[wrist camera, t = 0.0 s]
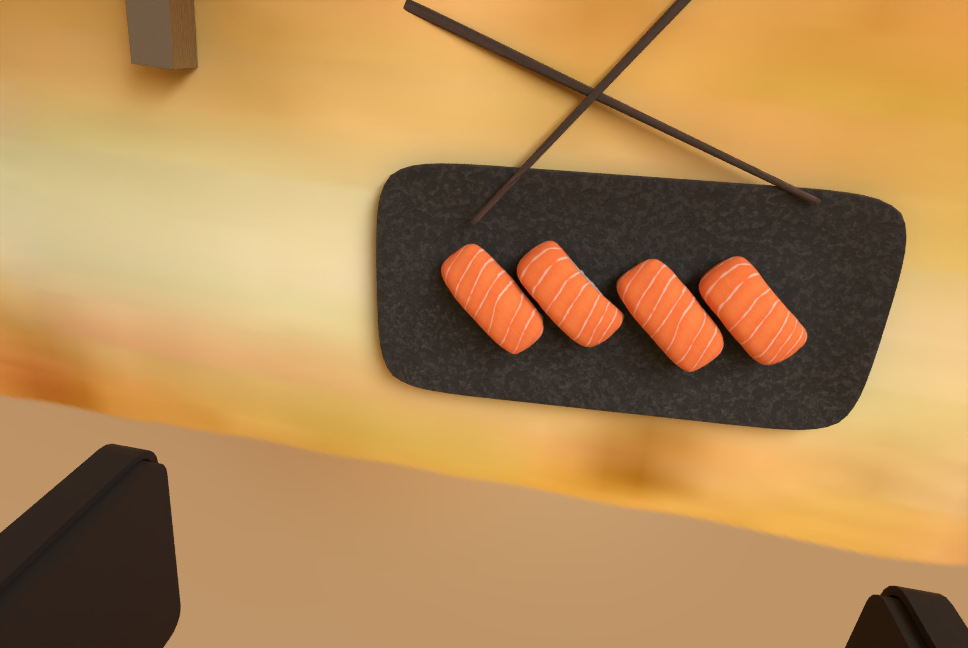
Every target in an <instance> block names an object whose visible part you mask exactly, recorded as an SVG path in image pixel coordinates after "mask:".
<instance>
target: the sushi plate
mask: <svg viewBox="0 0 968 648" xmlns="http://www.w3.org/2000/svg"><path fill="white" fill-rule="evenodd" d="M690 1H691V0H677V1H676V2H675V3H674V4H673V5H672V6H671V7H670V8H669V9H668V10H667V12H666V13H665V14H664V15H663V16H662V17H661V18H660V19H659V20H658V21H657V22H656V23H655V24H654V26H653V27H652V28H651V29H650V30H649V31H648V32H647V33H646V34H645V35H644V36H643V37H642V38H641V39H640V41H639V42H638V43H637V44H636V45H635V46H634V47H633V48H632V49H631V50H630V51H629V52H628V53H627V54H626V56H625V57H624V58H623V59H622V60H621V61H620V62H619V63H618V64H617V65H616V66H615V67H614V68H613V69H612V71H611V72H610V73H609V74H608V75H607V76H606V77H605V78H604V79H603V80H602V81H601V82H600V83H599V84H598V85H597V87H596V88H595V89H593V88H591V87H589V86H587V85H585V84H583V83H581V82H579V81H577V80H575V79H573V78H571V77H569V76H567V75H565V74H563V73H560V72H558V71H556V70H554V69H552V68H550V67H548V66H546V65H544V64H542V63H540V62H538V61H536V60H534V59H532V58H530V57H528V56H526V55H524V54H522V53H520V52H518V51H516V50H514V49H512V48H510V47H508V46H505V45H503V44H501V43H499V42H497V41H495V40H493V39H491V38H489V37H487V36H485V35H483V34H481V33H479V32H477V31H475V30H473V29H471V28H468V27H466V26H464V25H462V24H460V23H458V22H456V21H454V20H452V19H450V18H448V17H446V16H444V15H442V14H440V13H437V12H435V11H433V10H431V9H429V8H427V7H425V6H423V5H421V4H418V3H416V2H414V1H412V0H406V2H405V5H404V7H403V8H404V9H405V10H406V11H408V12H410V13H412V14H414V15H416V16H418V17H420V18H422V19H424V20H427V21H429V22H431V23H433V24H435V25H437V26H439V27H441V28H443V29H446V30H448V31H450V32H452V33H454V34H456V35H458V36H460V37H463V38H465V39H467V40H469V41H471V42H473V43H475V44H477V45H479V46H482V47H484V48H486V49H488V50H490V51H492V52H494V53H496V54H499V55H501V56H503V57H505V58H507V59H509V60H511V61H513V62H516V63H518V64H520V65H522V66H524V67H526V68H528V69H530V70H533V71H535V72H537V73H539V74H541V75H543V76H545V77H547V78H550V79H552V80H554V81H556V82H558V83H560V84H562V85H564V86H567V87H569V88H571V89H573V90H575V91H577V92H579V93H581V94H584V95H586V96H587V97H586V98H585V99H584V100H583V101H582V103H581V104H580V105H579V106H578V107H577V108H576V109H575V110H574V111H573V112H572V113H571V114H570V115H569V116H568V117H567V119H566V120H565V121H564V122H563V123H562V124H561V125H560V126H559V127H558V128H557V129H556V130H555V131H554V132H553V133H552V135H551V136H550V137H549V138H548V139H547V140H546V141H545V142H544V143H543V144H542V145H541V146H540V147H539V148H538V149H537V151H536V152H535V153H534V154H533V155H532V156H531V157H530V158H529V159H528V160H527V161H526V162H525V163H524V164H523V165H522V167H521V168H518V167H504V166H488V165H472V164H443V163H439V164H421V165H414V166H410V167H406V168H403V169H400V170H399V171H397V172H395V173H394V174H392V175H390V177H389V179H388V180H387V182H386V183H385V185H384V188H383V190H382V193H381V196H380V202H379V207H378V217H377V303H378V324H379V336H380V344H381V349H382V354H383V358H384V360H385V363H386V365H387V367H388V369H389V370H390V372H391V373H392V375H393V376H395V377H396V378H398V379H399V380H401V381H403V382H405V383H407V384H409V385H412V386H415V387H419V388H422V389H427V390H432V391H438V392H444V393H451V394H459V395H466V396H475V397H484V398H493V399H502V400H511V401H520V402H529V403H538V404H548V405H557V406H566V407H575V408H584V409H593V410H602V411H612V412H621V413H630V414H639V415H648V416H657V417H667V418H676V419H685V420H694V421H703V422H712V423H721V424H731V425H741V426H751V427H761V428H773V429H789V430H807V429H818V428H824V427H828V426H831V425H834V424H837V423H839V422H840V421H841V420H842V419H844V418H845V417H846V416H847V415H848V414H849V412H850V411H851V410H852V409H853V407H854V406H855V404H856V403H857V401H858V399H859V397H860V395H861V393H862V391H863V389H864V386H865V384H866V381H867V379H868V376H869V373H870V371H871V368H872V365H873V362H874V359H875V356H876V353H877V350H878V347H879V344H880V341H881V338H882V334H883V331H884V328H885V325H886V321H887V318H888V315H889V312H890V308H891V305H892V302H893V298H894V295H895V291H896V288H897V284H898V281H899V277H900V273H901V269H902V264H903V259H904V254H905V247H906V227H905V222H904V219H903V217H902V214H901V213H900V212H899V211H898V210H897V209H895V208H894V207H893V206H892V205H890V204H888V203H885V202H883V201H881V200H879V199H876V198H872V197H868V196H865V195H859V194H853V193H848V192H839V191H831V190H821V189H811V188H798V187H794V186H792V185H790V184H788V183H786V182H784V181H782V180H780V179H778V178H776V177H774V176H772V175H770V174H768V173H766V172H763V171H761V170H759V169H757V168H755V167H753V166H751V165H749V164H747V163H745V162H743V161H741V160H739V159H737V158H735V157H733V156H731V155H729V154H726V153H724V152H722V151H720V150H718V149H716V148H714V147H712V146H710V145H708V144H706V143H704V142H702V141H700V140H698V139H696V138H694V137H692V136H689V135H687V134H685V133H683V132H681V131H679V130H677V129H675V128H673V127H671V126H669V125H667V124H665V123H663V122H661V121H659V120H657V119H655V118H652V117H650V116H648V115H646V114H644V113H642V112H640V111H638V110H636V109H634V108H632V107H630V106H628V105H626V104H624V103H622V102H620V101H618V100H616V99H614V98H612V97H610V96H607V95H605V94H603V93H602V92H603V91H604V90H605V89H606V88H607V87H608V86H609V85H610V84H611V83H612V82H613V81H614V80H615V79H616V78H617V77H618V76H619V75H620V73H621V72H622V71H623V70H624V69H625V68H626V67H627V66H628V65H629V64H630V63H631V62H632V61H633V60H634V59H635V58H636V57H637V56H638V55H639V54H640V53H641V52H642V51H643V50H644V49H645V48H646V47H647V46H648V45H649V43H650V42H651V41H652V40H653V39H654V38H655V37H656V36H657V35H658V34H659V33H660V32H661V31H662V30H663V29H664V28H665V27H666V26H667V25H668V24H669V23H670V22H671V21H672V20H673V19H674V18H675V17H676V16H677V14H678V13H679V12H680V11H681V10H682V9H683V8H684V7H685V6H686V5H687V4H688V3H689V2H690ZM594 100H596V101H598V102H600V103H603V104H605V105H607V106H609V107H611V108H613V109H615V110H617V111H620V112H622V113H624V114H626V115H628V116H630V117H632V118H634V119H637V120H639V121H641V122H643V123H645V124H647V125H649V126H651V127H653V128H655V129H658V130H660V131H662V132H664V133H666V134H668V135H670V136H672V137H674V138H677V139H679V140H681V141H683V142H685V143H687V144H689V145H691V146H693V147H695V148H698V149H700V150H702V151H704V152H706V153H708V154H710V155H712V156H714V157H717V158H719V159H721V160H723V161H725V162H727V163H729V164H731V165H733V166H736V167H738V168H740V169H742V170H744V171H746V172H748V173H750V174H752V175H754V176H757V177H759V178H761V179H763V180H765V181H767V182H769V183H771V184H773V185H776V186H771V185H757V184H743V183H729V182H715V181H701V180H687V179H673V178H659V177H644V176H630V175H616V174H602V173H588V172H574V171H560V170H546V169H532V168H530V167H531V166H532V165H533V164H534V163H535V162H536V161H537V160H538V159H539V158H540V157H541V156H542V155H543V154H544V153H545V151H546V150H547V149H548V148H549V147H550V146H551V145H552V144H553V143H554V142H555V141H556V140H557V139H558V138H559V137H560V136H561V135H562V134H563V133H564V132H565V131H566V130H567V129H568V128H569V127H570V125H571V124H572V123H573V122H574V121H575V120H576V119H577V118H578V117H579V116H580V115H581V114H582V113H583V112H584V111H585V110H586V109H587V108H588V107H589V106H590V105H591V104H592V103H593V102H594Z"/></svg>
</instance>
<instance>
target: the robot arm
mask: <svg viewBox="0 0 968 648" xmlns="http://www.w3.org/2000/svg"><path fill="white" fill-rule="evenodd" d="M179 596H180V595H179V585H178V576H177V565H176V556H175V546H174V536H173V526H172V516H171V506H170V496H169V486H168V476H167V470H166V468H165V466H164V465H163V464H159V463H158V461H157V457H156V455H155V454H154V453H153V452H151V451H149V450H143V449H137V448H132V447H127V446H121V445H115V444H109V445H105V446H103V447H102V448H100V449H99V450H98V451H96V452H95V453H94V454H93V455H92V456H91V457H89V458H88V459H87V460H86V461H85V462H83V463H82V464H81V465H80V466H79V467H78V468H76V469H75V470H74V471H73V472H72V473H70V474H69V475H68V476H67V477H66V478H65V479H63V480H62V481H61V482H60V483H59V484H58V485H56V486H55V487H54V488H53V489H52V490H51V491H49V492H48V493H47V494H46V495H45V496H43V497H42V498H41V499H40V500H39V501H38V502H36V503H35V504H34V505H33V506H32V507H30V508H29V509H28V510H27V511H26V512H25V513H23V514H22V515H21V516H20V517H19V518H17V519H16V520H15V521H14V522H13V523H12V524H10V525H9V526H8V527H7V528H6V529H5V530H3V531H2V532H1V533H0V648H163V647H164V646H165V644H166V643H167V641H168V640H169V638H170V637H171V635H172V633H173V632H174V630H175V628H176V625H177V622H178V620H179V616H180V597H179ZM845 648H968V628H967V626H966V625H965V623H964V622H963V621H962V619H961V617H960V616H959V614H958V613H957V611H956V610H955V608H954V607H953V605H952V604H951V603H950V601H949V600H948V599H947V598H946V597H944V596H942V595H941V594H937V593H931V592H926V591H921V590H915V589H910V588H904V587H898V586H889V587H887V588H886V589H884V590H883V592H882V594H881V595H872V596H871V597H869V599H868V600H867V602H866V604H865V606H864V608H863V610H862V612H861V615H860V617H859V619H858V621H857V623H856V625H855V627H854V630H853V632H852V634H851V636H850V638H849V640H848V642H847V645H846V647H845Z"/></svg>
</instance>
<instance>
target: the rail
mask: <svg viewBox="0 0 968 648" xmlns="http://www.w3.org/2000/svg"><path fill="white" fill-rule="evenodd" d="M126 10H127V21H128V31H129V41H130V51H131V62H132V64H137V65H145V66H152V67H160V68H167V69H185V68H198V66H197V49H196V32H195V16H194V0H126Z"/></svg>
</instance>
